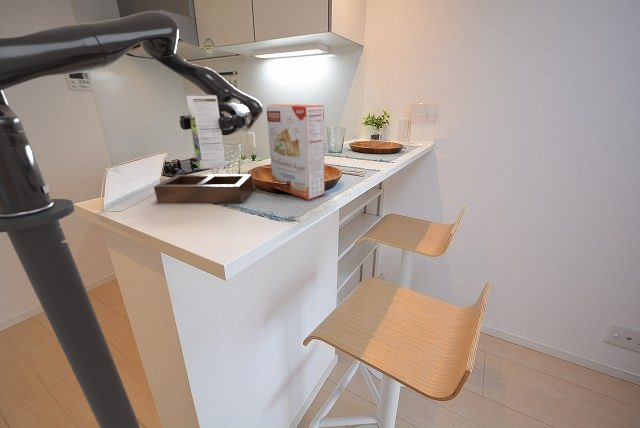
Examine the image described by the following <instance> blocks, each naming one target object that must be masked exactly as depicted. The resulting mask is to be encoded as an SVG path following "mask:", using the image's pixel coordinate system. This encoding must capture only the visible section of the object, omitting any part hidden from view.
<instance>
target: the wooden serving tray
mask: <svg viewBox="0 0 640 428" xmlns="http://www.w3.org/2000/svg"><path fill="white" fill-rule="evenodd" d="M153 189H154V194H155V198H156V202H157V203H158V204H242V203H243V202H244V201H245V199H246V198H247V197H248V196H249V194H250V193H251V192H252V191H253V190H254V188H253V178H252V174H176V175H174V176H171V177H170V178H168V179H166V180H164V181H162V182H160V183H158V184H156V185H154V186H153Z"/></svg>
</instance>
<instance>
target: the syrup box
mask: <svg viewBox="0 0 640 428" xmlns="http://www.w3.org/2000/svg"><path fill="white" fill-rule="evenodd" d="M186 105H187V110H188V115H189V117H190V123H191V129H190V130H191V135H192V140H193V145H194V152H195V158H196V163H197V169H198V170H209V169H217V168H218V169H219V168H226V167H227V161H226V154H225V147H224V145H225V144H224V138H223V135H222V130H220V128H219V121H218V119H219V118H220V115H219V108H218V102H217V96H216V95H206V94H191V95H186Z"/></svg>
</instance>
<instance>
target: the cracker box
mask: <svg viewBox="0 0 640 428" xmlns="http://www.w3.org/2000/svg"><path fill="white" fill-rule="evenodd" d="M265 107H266V118H267V130H268V143H269V152H270V153H269V154H270V165H271V179H272V183H273V182H278V183H285V184H290V191H289V190H286V189H283V188H280V187H273V186H272V188H273V189H276V190H279V191H281V192H285V193H287V194H289V195H293V196H296V197H298V198H302V199H305V200H308V201H310V200H312V199H315V198H318V197H321V196H324V195H325V194H326V193H325V191H326V189H325V187H326V186H325V183H326V182H325V108H324V107H325V106H324V105H321V104H320V105H319V104H303V103H278V104H277V103H274V104H267V105H266V106H265Z"/></svg>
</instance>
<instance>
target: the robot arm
mask: <svg viewBox="0 0 640 428" xmlns="http://www.w3.org/2000/svg"><path fill="white" fill-rule="evenodd" d="M179 33H180V32H179V26H178V23H177V21H176V20H175V19H174V18H173V17H172V16H171V15H169V14H167V13H165V12H162V11H157V10H146V11H142V12H138V13H134V14H130V15H127V16H123V17H119V18H113V19H107V20H100V21H94V22H82V23H73V24H72V23H71V24H65V25H59V26H53V27H49V28H44V29H41V30H37V31H33V32H30V33H28V34H23V35H18V36H10V37H0V218H2V219H9V218H19V217H25V216H30V215H34V214H38V213H41V212H44V211H47V210H49V209H51V208H53V207H54V203H53V201H52V200H51V199H52V197H51V195H50V191H51V189H50V186H49V184H48V183H47V184H46V182H45V179H44V177H43V174H42V171H41V168H40V166H39V164H38V161H37V159H36V156H35V154H34V151H33V149H32V146H31V144H30V142H29V138H28V136H27V134H26V131H25V129H24V126H23V123H22V121H21V119H20V117H18V115H16V113H15V112H14V111H13V109H12V108H11V107H10V105H9V103H8V100H7V98H6V95H5V93H4V90H8V89H11V88H13V87H15V86H18V85H21V84H24V83H27V82H30V81H33V80H36V79H41V78H45V77H50V76H51V77H52V76H65V75H73V74H79V73H85V72H90V71H95V70H98V69H104V68H106V67H107V68H108V67H109V66H111V65H113V64H115V63H116V62H118V61H119V60H120V59H121V58H123V57H124V56H125V55H126V54H128V52H129V51H130V50H132V49H134V47H136V46H138V45H139V44H140V47H141V48H142V50H143V51H144V53H146V54H147V55H148V56H150V58H152V59H153V60H155V61H157V62H158V63H160V64H161V65H163V66H165V67H166V68H168V69H169V70H171V71H172V72H174V73H175V74H177V75H178V76H180V77H182V78H183V79H185V80H187V82H189V83H191V84H192V85H194V86H195V87H196V88H198V89H199V90H200V91H201V92H203V93H204V95H216V96H217V102H218V108H219V115H220V118H219V119H218V121H219V128H220V130H222V136H229V135H232V134H235V133H237V132H240V131H241V132H244V133H246V132H249V131H250V130H251V129H252V128H253V127H254V125H255V124H256V122H258V120H259V118H261V116H262V114H263V112H264V109H263V105H262V104H261V102H260V101H259V100H258V99H256V98H255V97H253V96H250V95H248V94H246V93H244V92H242V91H241V90H239V89H237V88H236V87H234V86H233V85H232V84H230V83H229V81H227V80H226V79H225V78H224V77H222V76H221V75H220V74H219V73H218V72H217V71H215V70H213V69H212V68H209V67H206V66H203V65H198V64H194V63H191V62H189V61H188V60H186V59H184V58H183V57H182V56H181V55H180V54H179V53H178V52H177V51H176V50H177V45H178V40H179ZM236 100H237V101H238V102H234V101H236ZM179 126H180V128H181V129H182V130H183V131H187V130H192V129H191V123H190V117H189V114H187V115H181V116H179Z"/></svg>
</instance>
